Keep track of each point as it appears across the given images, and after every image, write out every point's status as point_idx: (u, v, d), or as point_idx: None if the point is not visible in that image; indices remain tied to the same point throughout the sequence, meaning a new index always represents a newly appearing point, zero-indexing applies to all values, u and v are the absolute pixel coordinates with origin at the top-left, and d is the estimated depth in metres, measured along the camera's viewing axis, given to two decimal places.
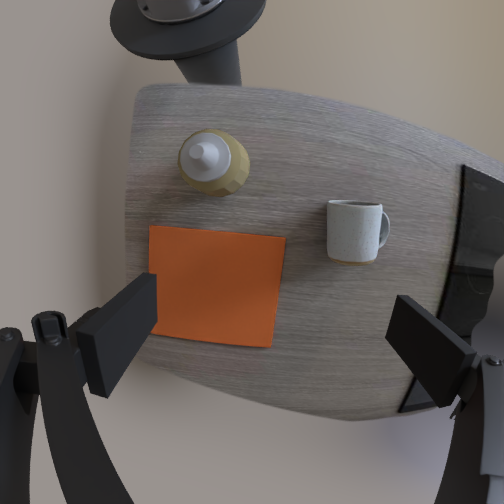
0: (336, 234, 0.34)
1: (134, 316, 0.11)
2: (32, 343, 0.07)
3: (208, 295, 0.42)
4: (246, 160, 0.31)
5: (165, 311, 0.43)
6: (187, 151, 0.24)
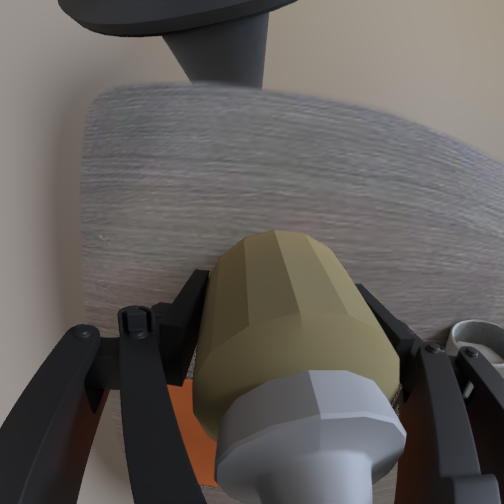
0: None
1: (197, 309, 0.12)
2: (107, 339, 0.08)
3: None
4: None
5: None
6: (245, 472, 0.05)
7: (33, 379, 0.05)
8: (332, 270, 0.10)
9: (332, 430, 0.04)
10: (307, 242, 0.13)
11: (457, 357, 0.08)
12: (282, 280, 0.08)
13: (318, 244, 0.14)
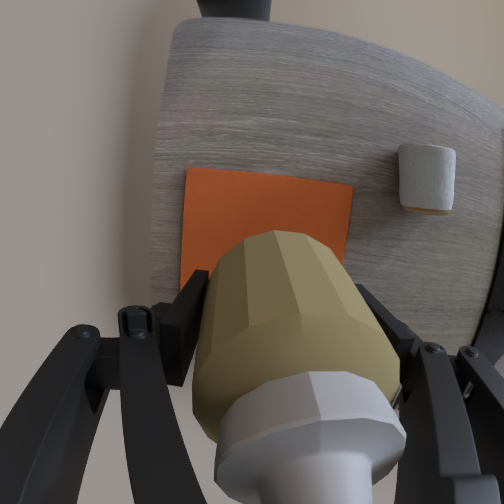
0: (415, 177, 0.26)
1: (197, 309, 0.12)
2: (107, 339, 0.08)
3: None
4: None
5: None
6: (245, 473, 0.05)
7: (32, 379, 0.05)
8: (332, 271, 0.10)
9: (332, 431, 0.04)
10: (307, 242, 0.13)
11: (457, 357, 0.08)
12: (282, 281, 0.08)
13: (318, 244, 0.13)
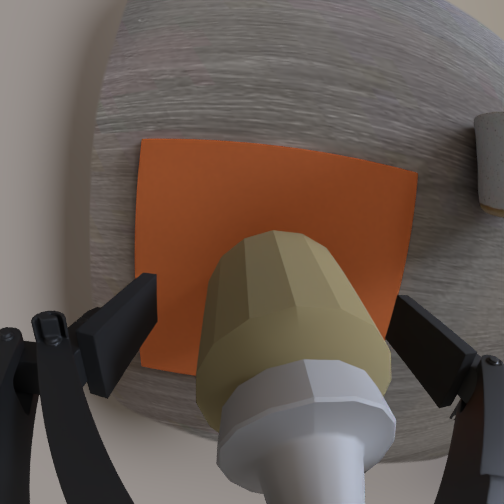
0: None
1: (134, 316, 0.11)
2: (32, 343, 0.07)
3: None
4: None
5: (169, 325, 0.20)
6: (246, 454, 0.05)
7: None
8: (327, 268, 0.11)
9: (325, 413, 0.05)
10: (304, 242, 0.13)
11: None
12: (280, 277, 0.09)
13: (315, 244, 0.14)
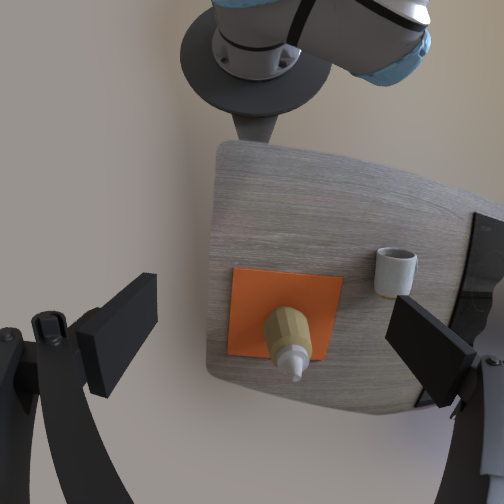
0: (384, 278, 0.44)
1: (134, 316, 0.11)
2: (32, 343, 0.07)
3: None
4: None
5: (242, 336, 0.52)
6: (282, 360, 0.37)
7: None
8: (299, 324, 0.43)
9: (294, 352, 0.37)
10: (294, 313, 0.45)
11: None
12: (287, 328, 0.41)
13: (297, 312, 0.46)
